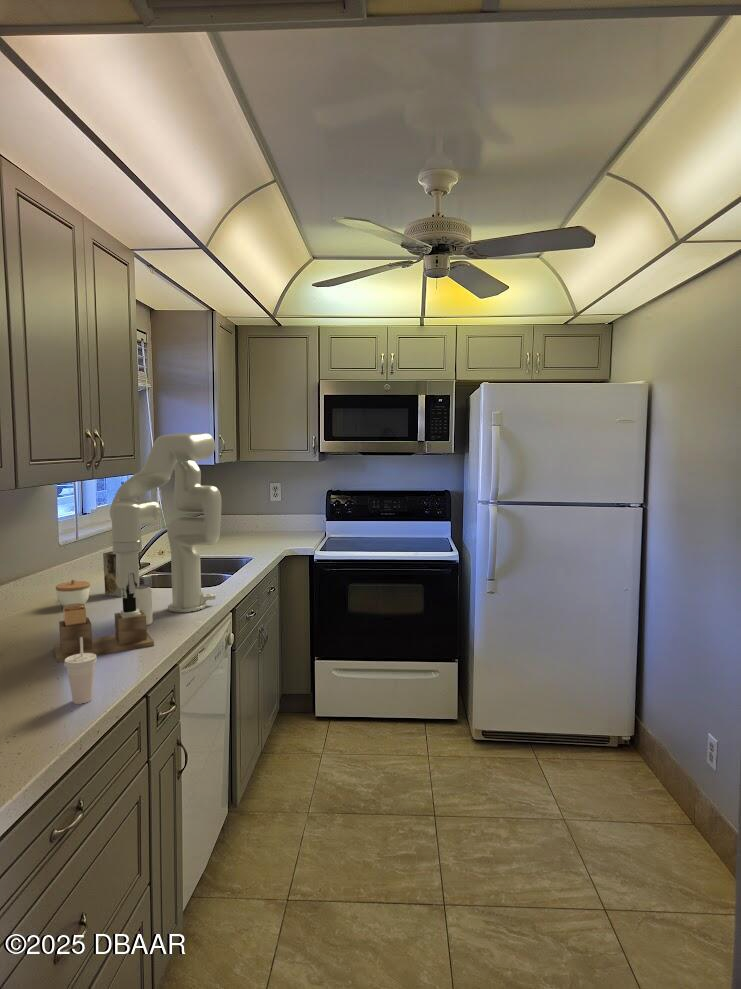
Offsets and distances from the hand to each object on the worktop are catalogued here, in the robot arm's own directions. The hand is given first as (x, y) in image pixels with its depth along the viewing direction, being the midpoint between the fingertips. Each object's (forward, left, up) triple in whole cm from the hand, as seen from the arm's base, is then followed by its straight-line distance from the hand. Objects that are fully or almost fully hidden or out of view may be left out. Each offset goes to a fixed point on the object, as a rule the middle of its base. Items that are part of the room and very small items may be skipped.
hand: (129, 611), depth 166 cm
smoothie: (+16, +35, -10) cm, 39 cm away
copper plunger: (+14, 0, -4) cm, 14 cm away
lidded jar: (+10, -52, -10) cm, 54 cm away
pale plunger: (0, 0, -8) cm, 8 cm away
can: (-6, -17, -10) cm, 21 cm away
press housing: (+7, 0, -9) cm, 12 cm away
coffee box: (-6, -62, -10) cm, 63 cm away
